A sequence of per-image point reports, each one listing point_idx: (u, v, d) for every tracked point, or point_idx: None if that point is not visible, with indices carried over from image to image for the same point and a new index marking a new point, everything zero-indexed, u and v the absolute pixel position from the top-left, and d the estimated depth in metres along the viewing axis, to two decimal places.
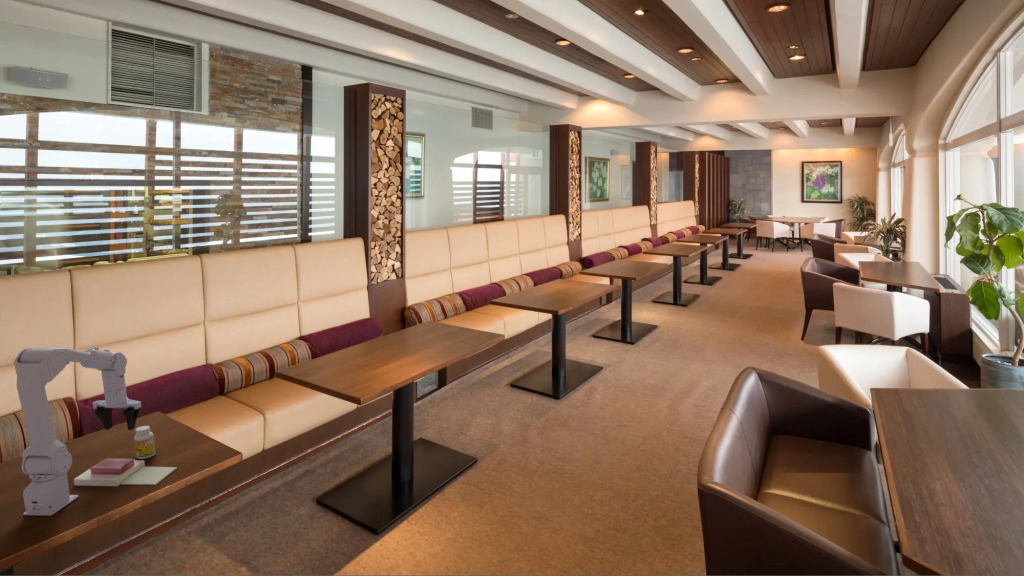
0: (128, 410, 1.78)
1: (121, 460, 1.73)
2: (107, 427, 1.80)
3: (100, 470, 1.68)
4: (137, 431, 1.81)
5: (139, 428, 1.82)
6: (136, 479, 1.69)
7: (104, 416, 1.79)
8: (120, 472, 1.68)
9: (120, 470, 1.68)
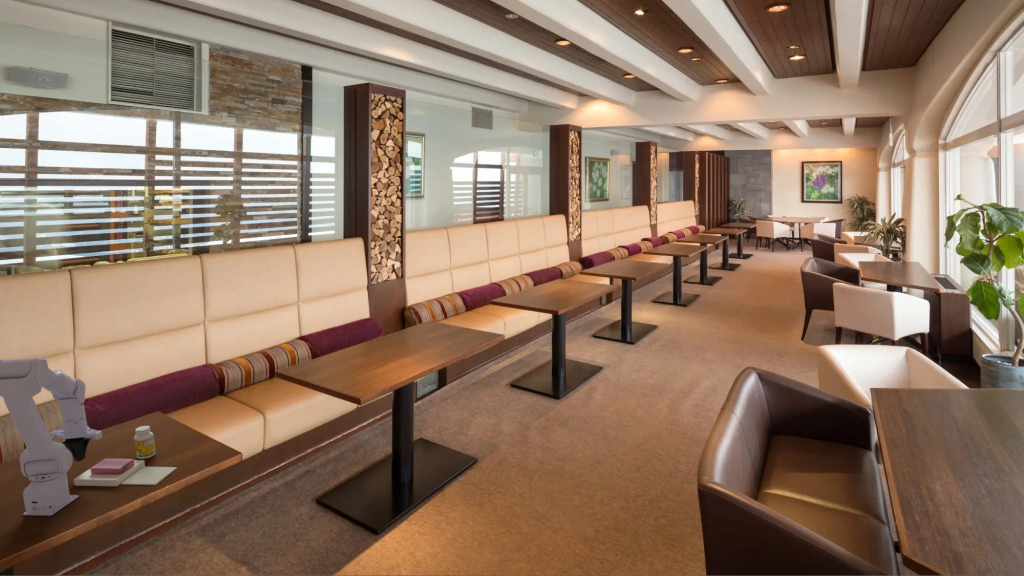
0: (76, 440, 1.68)
1: (121, 460, 1.73)
2: None
3: (100, 470, 1.68)
4: (137, 431, 1.81)
5: (139, 428, 1.82)
6: (136, 479, 1.69)
7: None
8: (120, 472, 1.68)
9: (120, 470, 1.68)
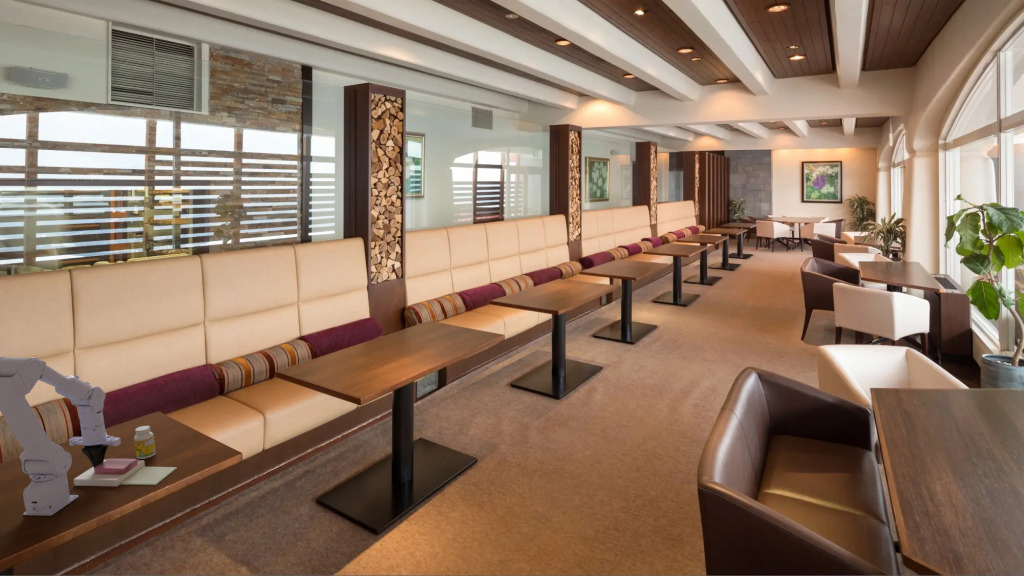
0: (95, 447, 1.68)
1: (124, 460, 1.73)
2: (96, 465, 1.70)
3: (104, 470, 1.68)
4: (137, 431, 1.81)
5: (139, 428, 1.82)
6: (136, 479, 1.69)
7: None
8: (124, 472, 1.68)
9: (124, 470, 1.68)
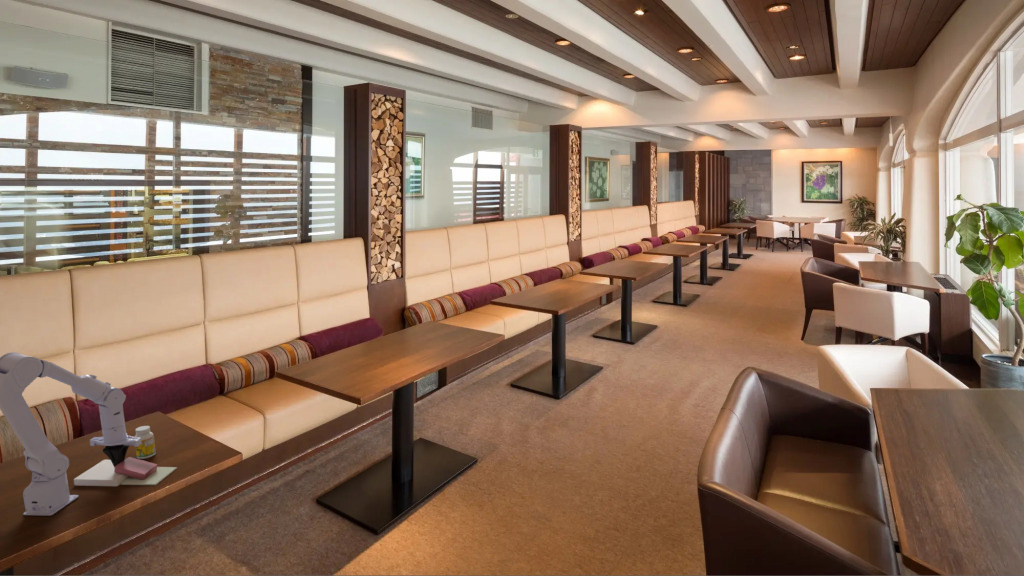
0: (116, 448, 1.68)
1: (145, 463, 1.73)
2: None
3: (124, 471, 1.68)
4: (137, 431, 1.81)
5: (139, 428, 1.82)
6: (136, 479, 1.69)
7: None
8: (143, 477, 1.68)
9: (144, 475, 1.68)
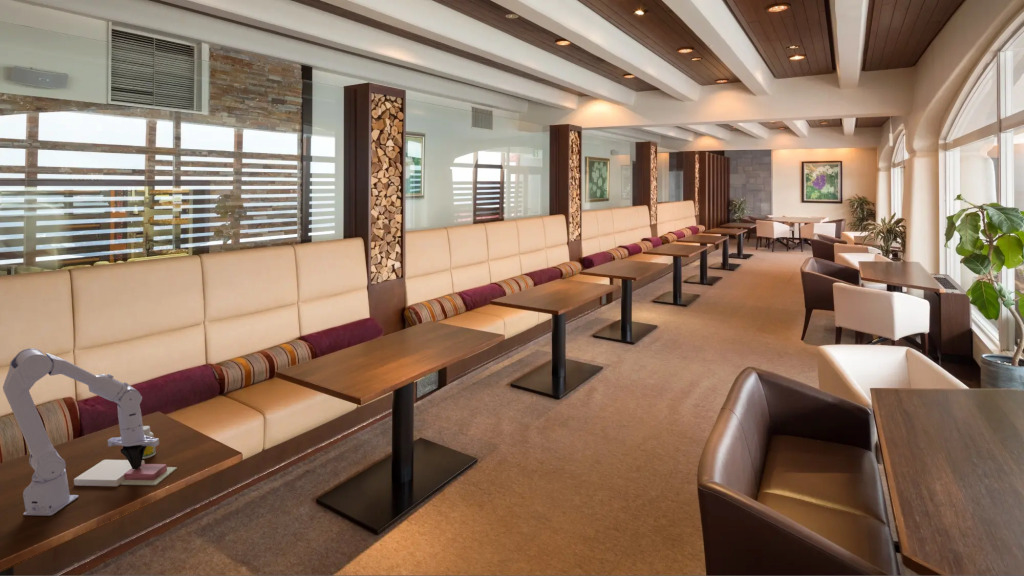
0: (134, 448, 1.68)
1: (154, 465, 1.73)
2: (134, 466, 1.70)
3: (134, 476, 1.68)
4: None
5: None
6: None
7: None
8: (154, 478, 1.68)
9: (154, 476, 1.68)
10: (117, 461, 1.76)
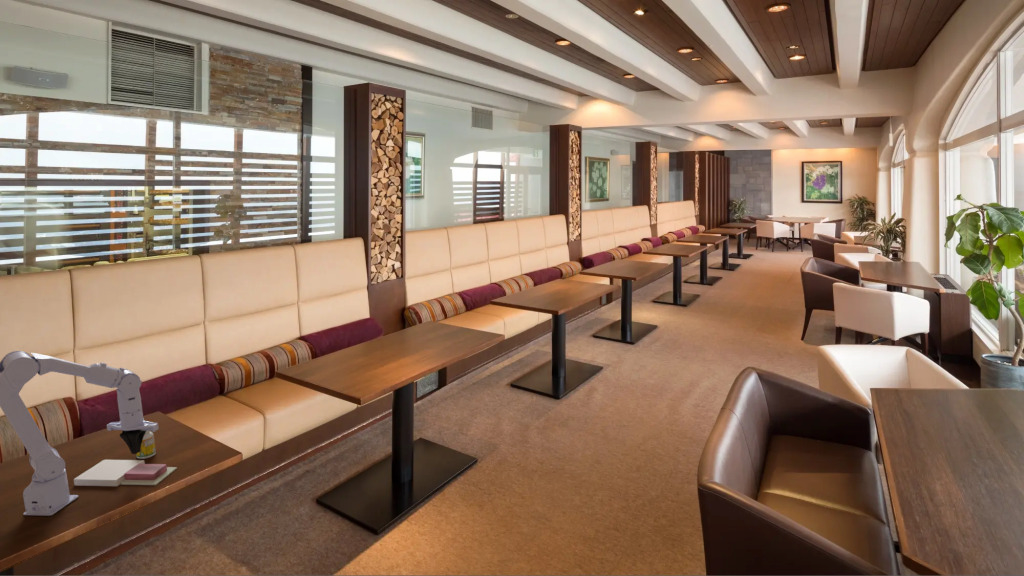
0: (133, 433, 1.67)
1: (154, 465, 1.73)
2: None
3: (134, 476, 1.68)
4: None
5: None
6: None
7: None
8: (154, 478, 1.68)
9: (154, 476, 1.68)
10: (117, 461, 1.76)
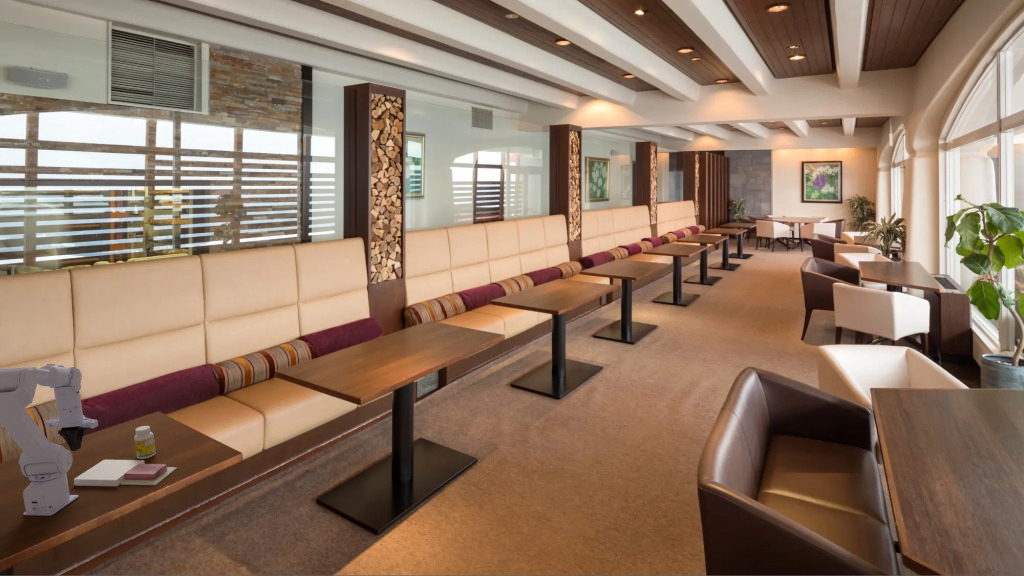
0: (72, 429, 1.65)
1: (154, 465, 1.73)
2: None
3: (134, 476, 1.68)
4: (137, 431, 1.81)
5: (139, 428, 1.82)
6: None
7: None
8: (154, 478, 1.68)
9: (154, 476, 1.68)
10: (117, 461, 1.76)
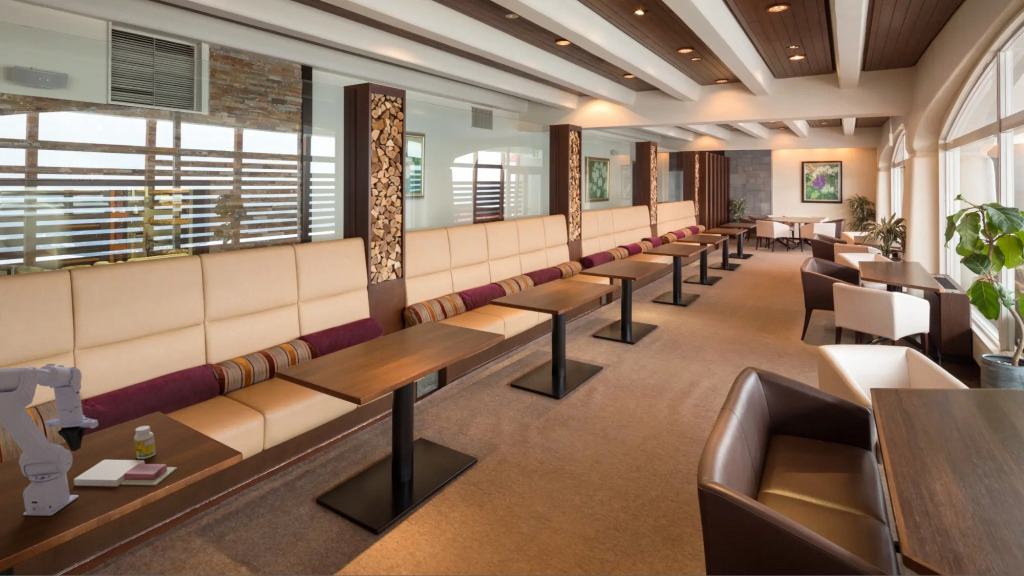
0: (72, 429, 1.65)
1: (154, 465, 1.73)
2: None
3: (134, 476, 1.68)
4: (137, 431, 1.81)
5: (139, 428, 1.82)
6: None
7: None
8: (154, 478, 1.68)
9: (154, 476, 1.68)
10: (117, 461, 1.76)
